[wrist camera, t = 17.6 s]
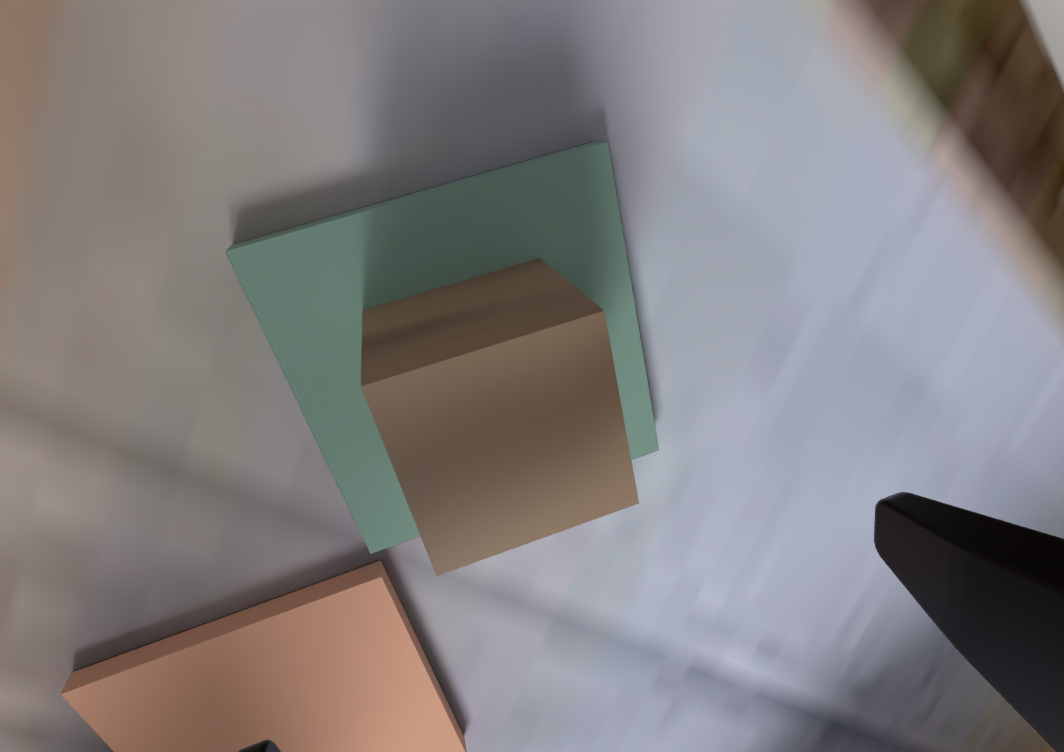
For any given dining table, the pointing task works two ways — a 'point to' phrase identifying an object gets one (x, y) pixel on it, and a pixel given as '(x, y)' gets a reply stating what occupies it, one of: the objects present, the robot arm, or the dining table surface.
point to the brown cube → (498, 410)
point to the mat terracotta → (278, 680)
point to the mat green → (425, 264)
